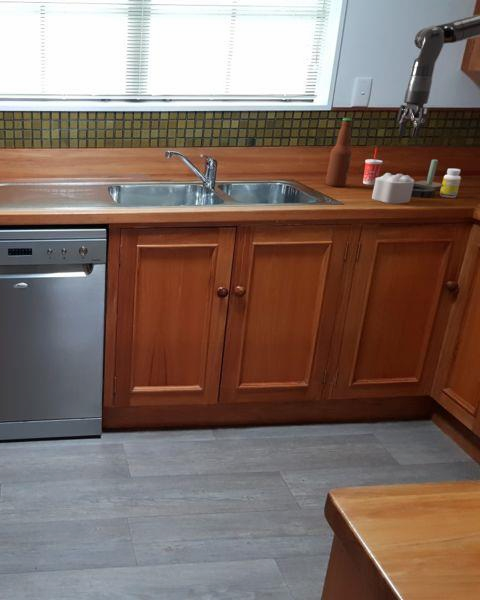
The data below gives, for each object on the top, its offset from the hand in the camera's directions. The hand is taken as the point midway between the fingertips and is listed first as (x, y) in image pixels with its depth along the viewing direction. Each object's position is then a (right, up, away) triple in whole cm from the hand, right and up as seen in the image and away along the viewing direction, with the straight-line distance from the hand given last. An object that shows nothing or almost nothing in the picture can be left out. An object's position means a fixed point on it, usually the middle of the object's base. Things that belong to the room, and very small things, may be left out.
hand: (408, 136), depth 220 cm
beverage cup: (-5, -14, +20) cm, 24 cm away
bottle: (-20, -15, +16) cm, 29 cm away
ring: (+5, -20, +4) cm, 21 cm away
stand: (+16, -16, +15) cm, 27 cm away
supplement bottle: (+15, -22, +1) cm, 26 cm away
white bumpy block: (-8, -24, -5) cm, 26 cm away
